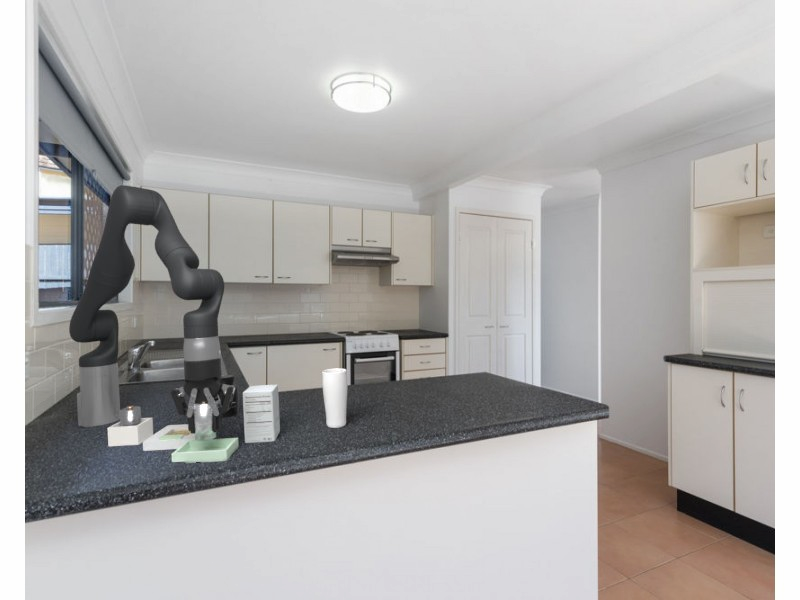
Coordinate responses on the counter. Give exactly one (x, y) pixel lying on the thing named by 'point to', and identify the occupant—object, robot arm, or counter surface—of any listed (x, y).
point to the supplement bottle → (234, 407)
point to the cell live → (203, 422)
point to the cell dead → (130, 416)
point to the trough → (205, 450)
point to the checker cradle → (167, 438)
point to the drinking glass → (335, 396)
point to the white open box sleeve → (130, 433)
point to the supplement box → (261, 413)
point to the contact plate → (181, 432)
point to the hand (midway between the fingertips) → (205, 431)
